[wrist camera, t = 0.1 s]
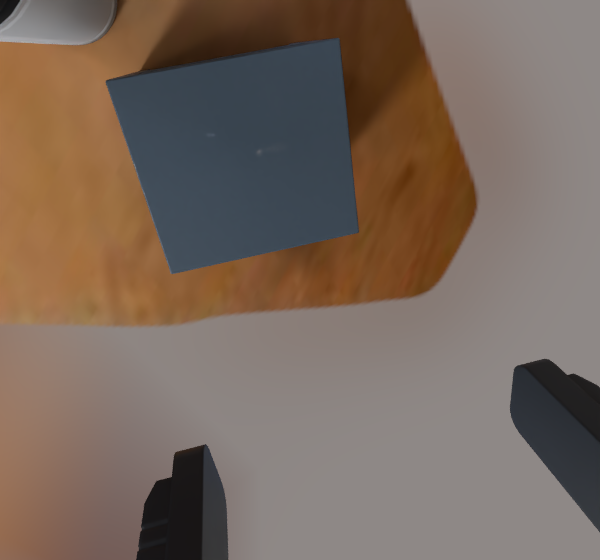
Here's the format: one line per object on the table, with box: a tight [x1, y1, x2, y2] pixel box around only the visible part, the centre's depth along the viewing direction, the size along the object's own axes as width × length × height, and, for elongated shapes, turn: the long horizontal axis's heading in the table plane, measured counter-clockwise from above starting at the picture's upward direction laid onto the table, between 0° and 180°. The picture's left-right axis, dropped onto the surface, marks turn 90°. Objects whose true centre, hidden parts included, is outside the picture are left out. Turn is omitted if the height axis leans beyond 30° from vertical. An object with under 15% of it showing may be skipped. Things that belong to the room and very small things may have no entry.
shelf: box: [106, 38, 359, 274], centre depth 30 cm, size 11×12×12 cm
